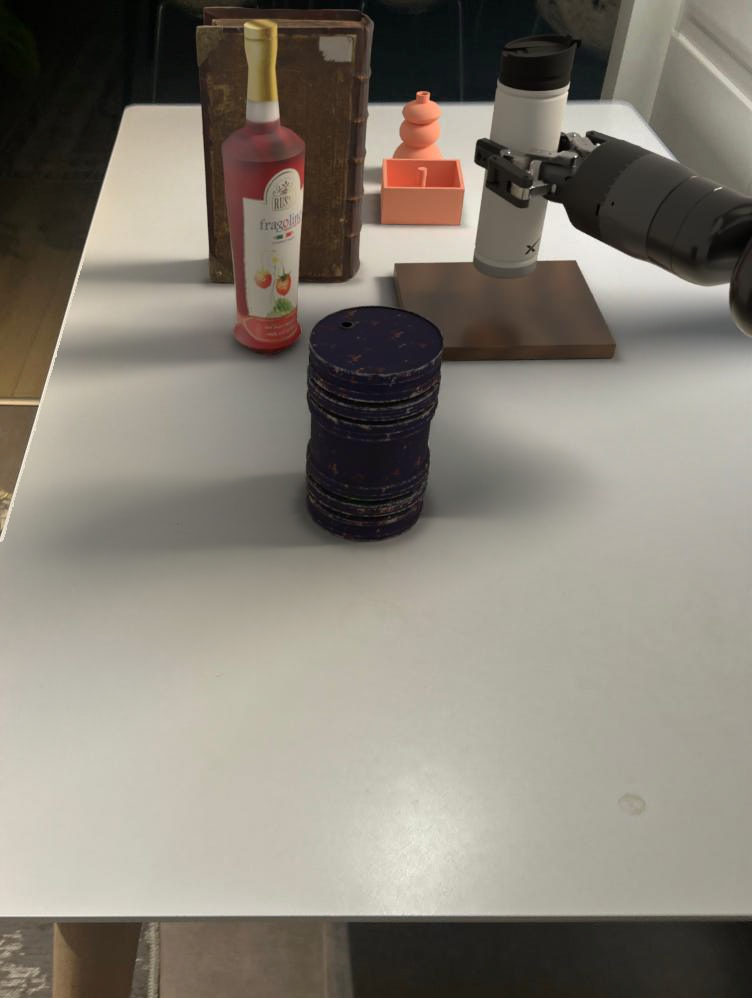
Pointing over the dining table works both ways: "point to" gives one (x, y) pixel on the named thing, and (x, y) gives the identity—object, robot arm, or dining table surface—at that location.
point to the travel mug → (523, 147)
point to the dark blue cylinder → (370, 419)
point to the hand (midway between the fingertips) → (506, 142)
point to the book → (294, 125)
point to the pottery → (421, 172)
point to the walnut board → (507, 311)
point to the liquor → (264, 205)
